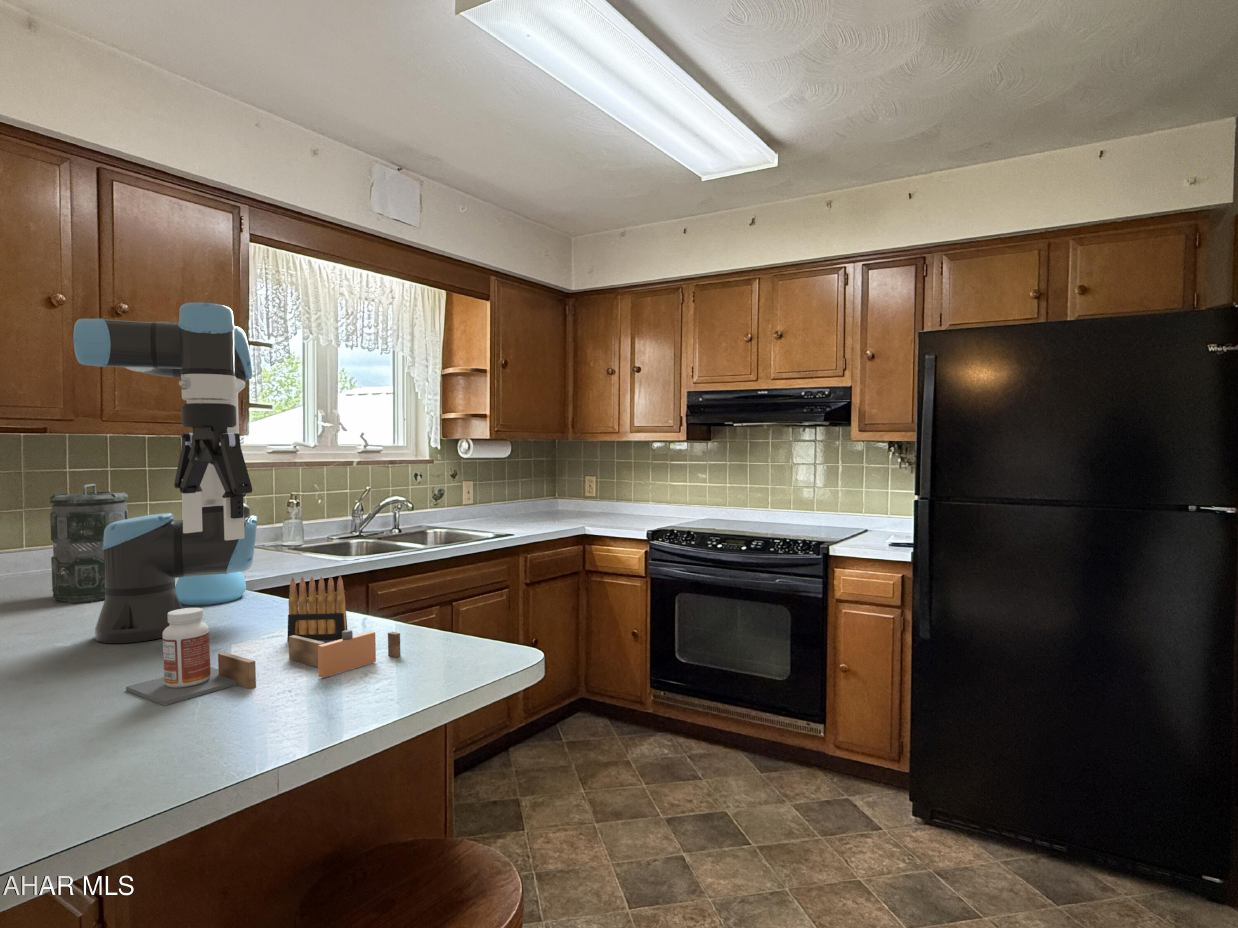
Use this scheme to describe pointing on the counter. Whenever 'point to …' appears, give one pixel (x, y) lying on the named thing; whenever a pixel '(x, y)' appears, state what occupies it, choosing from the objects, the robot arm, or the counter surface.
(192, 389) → the robot arm
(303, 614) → the ammunition clip
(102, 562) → the canister
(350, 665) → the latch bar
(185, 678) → the pill bottle
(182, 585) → the sugar bowl
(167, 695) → the mat
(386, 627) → the counter surface
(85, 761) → the counter surface
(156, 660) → the counter surface
